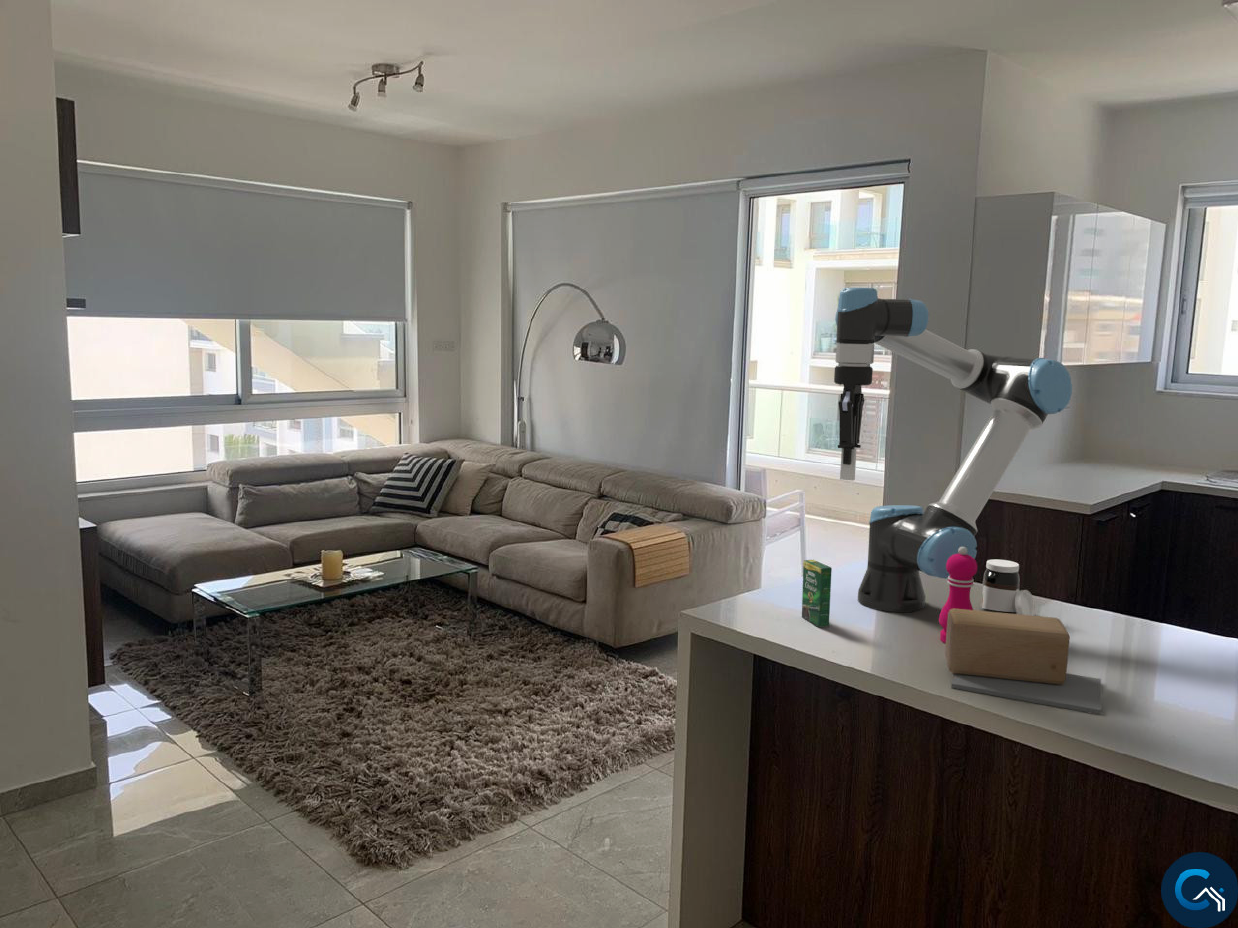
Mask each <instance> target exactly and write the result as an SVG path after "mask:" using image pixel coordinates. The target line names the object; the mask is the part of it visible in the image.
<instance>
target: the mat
mask: <svg viewBox="0 0 1238 928" xmlns="http://www.w3.org/2000/svg"><path fill="white" fill-rule="evenodd" d="M950 688H952V689H957V690H961V691H962V690H963V691H968V692H972V693H979V694H982V695H983V694H984V695H990V696H995V697H1002V698H1007V699H1011V700H1018V701H1023V702H1029V703H1034V704H1035V703H1036V704H1039V705H1043V706H1044V705H1046V706H1051V707H1055V708H1057V707H1058V708H1061V709H1062V708H1063V709H1067V710H1074V711H1078V710H1079V711H1078V712H1083V711H1085V712H1084V713H1089V712H1091V713H1090V714H1094V713H1097V714H1096V715H1100V714H1101V715H1102V709H1103V708H1102V707H1103V706H1102V679H1101V678H1097V677H1090V676H1087V675H1086V676H1085V675H1079V674H1074V673H1073V674H1072V673H1067V672H1066V680H1065V682H1064V684H1060V685H1059V684H1050V683H1040V682H1031V681H1022V680H1013V679H1003V678H994V677H985V676H976V675H966V674H957V673H954V676H953V679H952V681H951V687H950Z"/></svg>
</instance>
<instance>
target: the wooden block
mask: <svg viewBox="0 0 1238 928" xmlns="http://www.w3.org/2000/svg"><path fill="white" fill-rule="evenodd" d="M1070 639H1071V637H1070V634H1069V631H1068V630H1067V628H1066V627H1065V626H1064V624H1063V623H1062V620H1061V619H1059V618H1057V617H1052V616H1051V617H1050V616H1043V615H1042V616H1039V615H1035V616H1031V615H1020V614H1017V613H1016V614H1009V613H998V612H988V611H982V610H977V609H973V610H966V609H955V608H954V609H950V610H949V612H948V619H947V633H946V643H945V647H944V654H945V658H946V659H945V660H946V664H947V668H948V671H949V672H951V673H952V674H956V673H957V674H966V675H976V676H985V677H994V678H1003V679H1013V680H1022V681H1031V682H1040V683H1050V684H1059V685H1060V684H1064V682H1065V680H1066V673H1067V669H1068V658H1069V649H1070V648H1069V647H1070Z"/></svg>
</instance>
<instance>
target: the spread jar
mask: <svg viewBox="0 0 1238 928" xmlns="http://www.w3.org/2000/svg"><path fill="white" fill-rule="evenodd" d="M985 567H986V569H985V571H984V573H983V579H982V590H981V592H982V593H981V602H980V604H981V605H980V607H981V611H988V612H998V613H1009V614H1020V615H1031V616H1036V603H1035V600H1034V597H1033V595H1032V593H1031V592H1030V591H1029V590H1028V589H1023V590H1022V589H1021V590H1020V581H1021V580H1020V574H1019V570H1020V564H1019V563H1018V562H1015V561H1012V560H1007V559H987V561H986V565H985Z"/></svg>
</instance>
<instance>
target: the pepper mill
mask: <svg viewBox="0 0 1238 928" xmlns="http://www.w3.org/2000/svg"><path fill="white" fill-rule="evenodd" d="M958 552H959V554H954V555H952V556H951V557H949V559H948V560H947V563H946V569H947V571H948V573H949V574H950V576H948V579H947V582H946V583H947V584H948V585H949V591H948V597H947V600H946V602H945V604H944V605H943V606H942V609H941V610H940V613H939V615H938V616H939V617H938V623H939V625H940V626H941V628H942V629H941V630H940V633H939V634H940V635H939V639H940V641H941V642H942V643H944V644H946V633H947V619H948V612H949V610H950V609H954V608H955V609H966V610H974V608H973V606H972V605H973V604H972V603H971V597H970V596H971V589H972V587H973V586H974V581H975V579H974V578H973V577H974V576H975V575H976V574H977V572H978V564H977V563H978V562H977V561H976V558H975V559H974V558H973V557H971V556H970V555H967V548H966V547H960V548H959V549H958Z"/></svg>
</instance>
